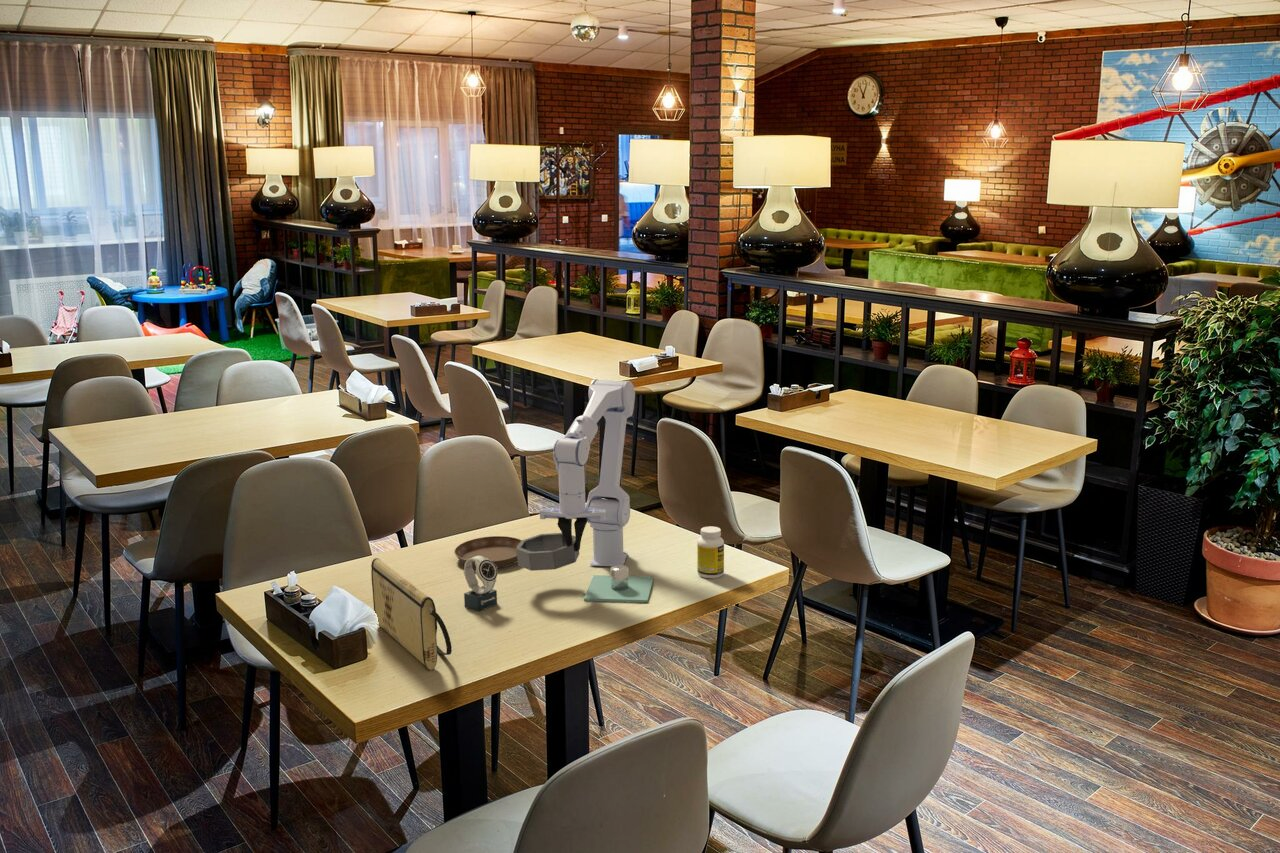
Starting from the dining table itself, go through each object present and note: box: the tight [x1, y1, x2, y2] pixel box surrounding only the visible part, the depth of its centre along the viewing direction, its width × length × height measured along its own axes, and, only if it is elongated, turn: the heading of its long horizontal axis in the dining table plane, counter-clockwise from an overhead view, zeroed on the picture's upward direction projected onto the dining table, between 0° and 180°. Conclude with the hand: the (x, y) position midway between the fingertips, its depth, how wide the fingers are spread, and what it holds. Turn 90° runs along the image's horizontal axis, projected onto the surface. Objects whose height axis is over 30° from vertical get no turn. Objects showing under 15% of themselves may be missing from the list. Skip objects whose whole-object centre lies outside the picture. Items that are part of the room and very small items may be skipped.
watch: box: [463, 556, 499, 612], centre depth 230 cm, size 6×8×11 cm
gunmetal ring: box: [516, 532, 580, 572], centre depth 238 cm, size 13×13×4 cm
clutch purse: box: [370, 557, 453, 671], centre depth 211 cm, size 30×7×15 cm, turn 35°
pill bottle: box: [696, 525, 725, 579], centre depth 246 cm, size 6×6×11 cm
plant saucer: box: [453, 535, 522, 569], centre depth 260 cm, size 18×18×3 cm
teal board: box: [583, 574, 655, 603], centre depth 239 cm, size 14×14×1 cm
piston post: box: [609, 565, 629, 591], centre depth 238 cm, size 4×4×4 cm
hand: (573, 549), depth 237 cm, fingers closed on gunmetal ring
